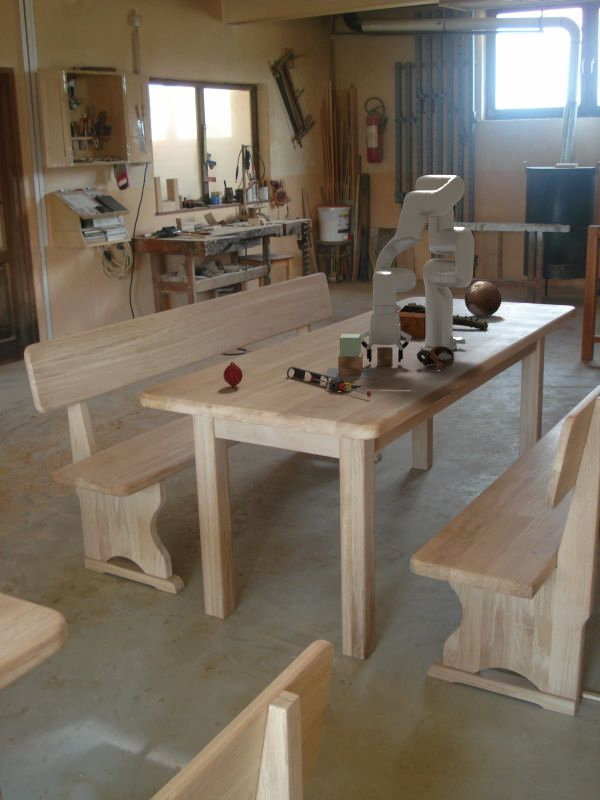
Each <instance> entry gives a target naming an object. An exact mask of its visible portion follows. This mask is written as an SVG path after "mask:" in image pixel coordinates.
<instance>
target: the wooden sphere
mask: <svg viewBox="0 0 600 800" xmlns="http://www.w3.org/2000/svg"><path fill="white" fill-rule="evenodd" d="M502 301H503V298H502V292H501V289H500V288H499V287H498V286H497V285H496V284H495V283H493V282H491V281H489V280H479V281H478V280H477V281H475V282H474V283H472V284H471V285H469V286H468V287H467V290H466V292H465V294H464V303H465V304H464V305H465V307H466V309H467V310H468V311H469V312H470V313H471V314H472V315H473V316H475V317H477V318H489V317H490V316H492V315H494V314H495V313H496V312H498V310H499V309H500V307H501V304H502Z"/></svg>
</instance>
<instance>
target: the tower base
mask: <svg viewBox="0 0 600 800" xmlns="http://www.w3.org/2000/svg"><path fill="white" fill-rule="evenodd" d="M363 359H364V357H363V352H362V351H361V353H360V356H359V357H340V353H339V354H338V356H337V361H338V362H337V363H338V364H337V366H338V367H337V368H338V375H342V376H361V374H362V371H363V368H364V365H363V364H364V363H363V362H364V361H363Z"/></svg>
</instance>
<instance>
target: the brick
mask: <svg viewBox="0 0 600 800" xmlns="http://www.w3.org/2000/svg"><path fill="white" fill-rule="evenodd" d="M396 313H399V318H400V328H401V331H402V332H404V333H406V334H408V335H410V336H411V337H412V338H411V339H419V340H422V339H424V338H425V314H421V313H414V312H412V313H407V312H400V310H398V311H396ZM401 338H404V337H403V336H401Z"/></svg>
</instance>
